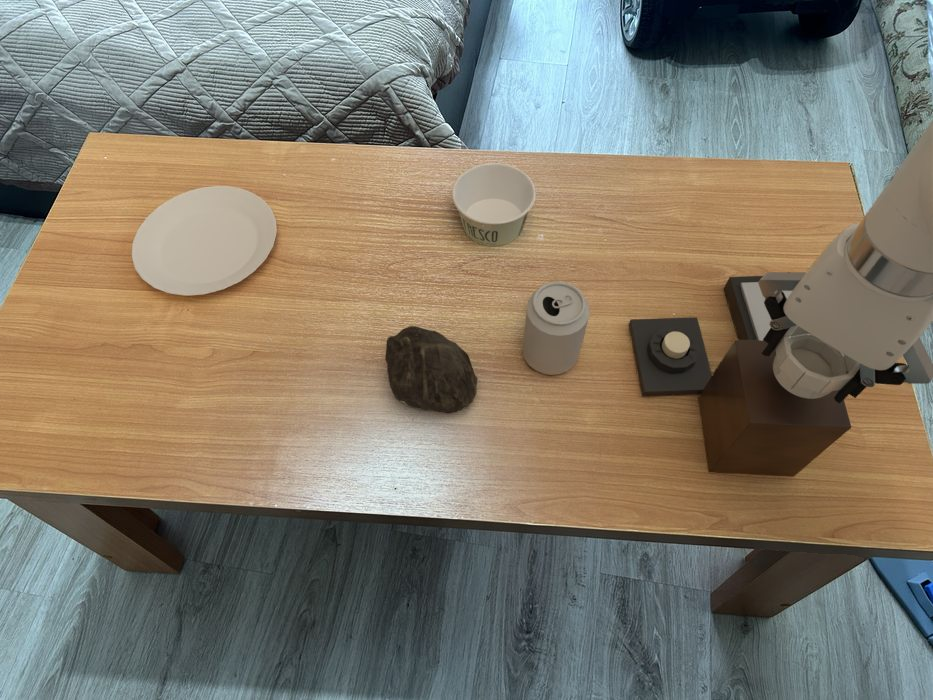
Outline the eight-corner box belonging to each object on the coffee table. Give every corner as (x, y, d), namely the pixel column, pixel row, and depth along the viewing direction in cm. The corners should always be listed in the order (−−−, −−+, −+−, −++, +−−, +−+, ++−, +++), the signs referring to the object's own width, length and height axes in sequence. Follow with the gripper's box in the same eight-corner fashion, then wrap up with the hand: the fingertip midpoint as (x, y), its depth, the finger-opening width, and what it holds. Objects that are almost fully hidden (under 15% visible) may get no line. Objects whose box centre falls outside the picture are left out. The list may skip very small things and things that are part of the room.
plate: (177, 329, 89) (171, 320, 87) (115, 240, 98) (108, 230, 96) (306, 254, 96) (303, 244, 94) (237, 176, 105) (233, 165, 103)
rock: (476, 425, 80) (464, 378, 72) (388, 423, 82) (367, 377, 74) (484, 360, 86) (474, 310, 78) (402, 359, 88) (384, 310, 80)
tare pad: (712, 394, 83) (720, 383, 80) (642, 397, 83) (647, 385, 80) (694, 322, 88) (700, 310, 86) (628, 324, 88) (632, 312, 86)
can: (513, 338, 88) (518, 284, 77) (565, 323, 89) (577, 268, 78) (533, 384, 84) (541, 335, 74) (587, 369, 85) (602, 317, 75)
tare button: (689, 358, 82) (692, 352, 81) (664, 359, 82) (667, 353, 81) (684, 337, 84) (687, 330, 83) (659, 338, 84) (662, 331, 83)
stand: (778, 401, 82) (828, 342, 70) (794, 476, 77) (851, 427, 65) (697, 397, 83) (734, 339, 71) (708, 472, 77) (750, 423, 65)
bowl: (853, 369, 65) (876, 345, 61) (818, 417, 63) (840, 395, 59) (789, 330, 68) (807, 305, 64) (753, 375, 65) (770, 351, 61)
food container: (539, 201, 101) (543, 169, 95) (523, 260, 95) (526, 229, 89) (464, 188, 102) (463, 156, 97) (444, 245, 96) (442, 214, 91)
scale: (851, 378, 84) (864, 366, 81) (750, 382, 84) (760, 369, 81) (815, 285, 91) (826, 270, 88) (723, 288, 91) (731, 274, 88)
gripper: (1042, 282, 48) (908, 396, 63) (821, 172, 54) (748, 299, 69) (1004, 346, 45) (873, 449, 60) (776, 221, 52) (710, 342, 67)
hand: (807, 368), depth 65 cm, fingers closed on bowl, 7 cm apart
